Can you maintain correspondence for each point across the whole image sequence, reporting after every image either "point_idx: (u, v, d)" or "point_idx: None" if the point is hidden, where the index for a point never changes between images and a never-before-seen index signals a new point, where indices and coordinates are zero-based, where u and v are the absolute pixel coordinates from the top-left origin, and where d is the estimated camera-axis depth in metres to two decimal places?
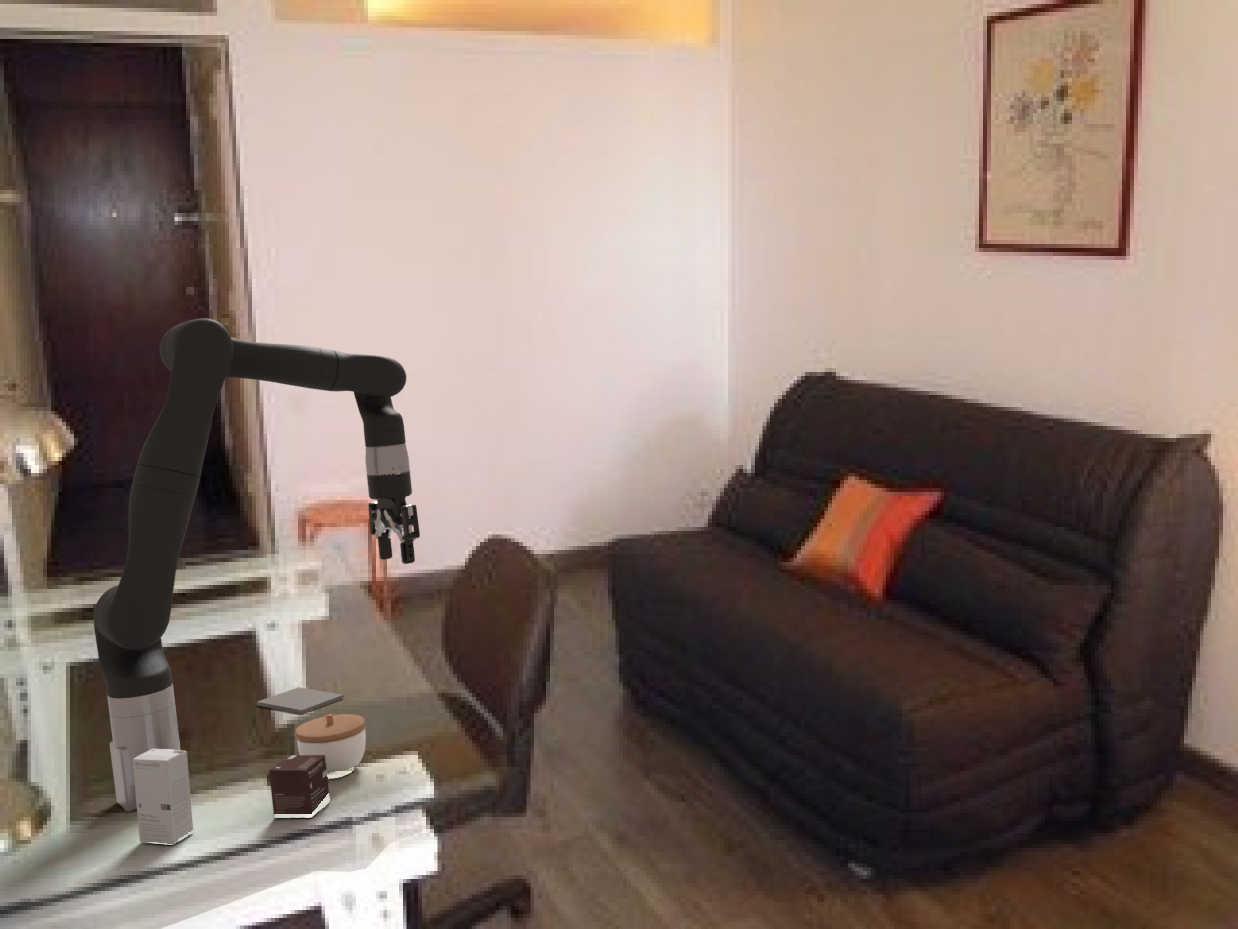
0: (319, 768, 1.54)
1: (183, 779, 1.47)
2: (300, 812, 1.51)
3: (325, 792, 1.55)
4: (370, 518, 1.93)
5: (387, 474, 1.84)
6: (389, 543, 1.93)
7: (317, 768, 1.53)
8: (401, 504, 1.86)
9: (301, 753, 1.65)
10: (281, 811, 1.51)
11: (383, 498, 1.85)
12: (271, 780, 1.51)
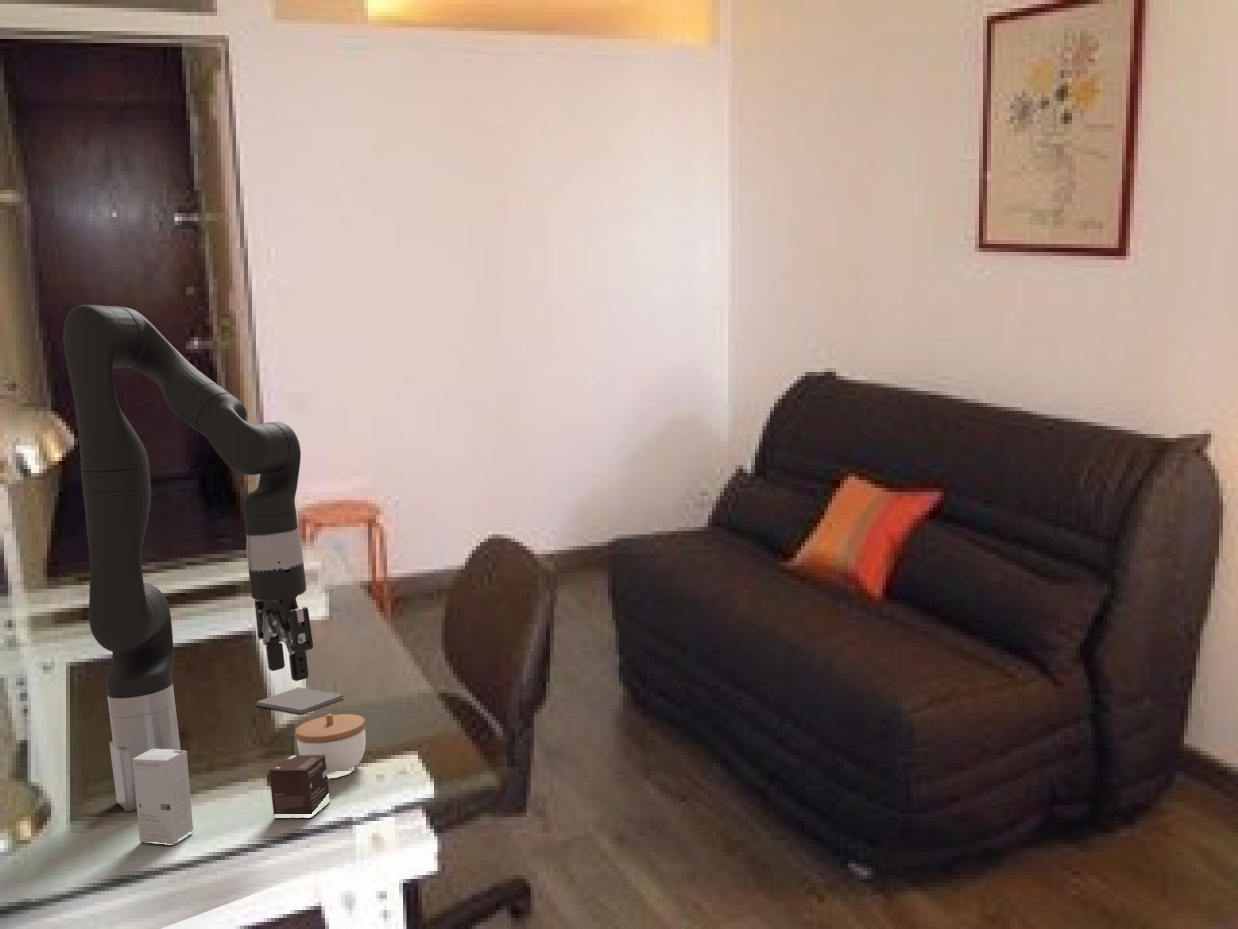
0: (319, 768, 1.54)
1: (183, 779, 1.47)
2: (300, 812, 1.51)
3: (325, 792, 1.55)
4: (257, 619, 1.56)
5: (271, 569, 1.47)
6: (280, 650, 1.56)
7: (317, 768, 1.53)
8: (290, 606, 1.49)
9: (301, 753, 1.65)
10: (281, 811, 1.51)
11: (267, 599, 1.48)
12: (271, 780, 1.51)
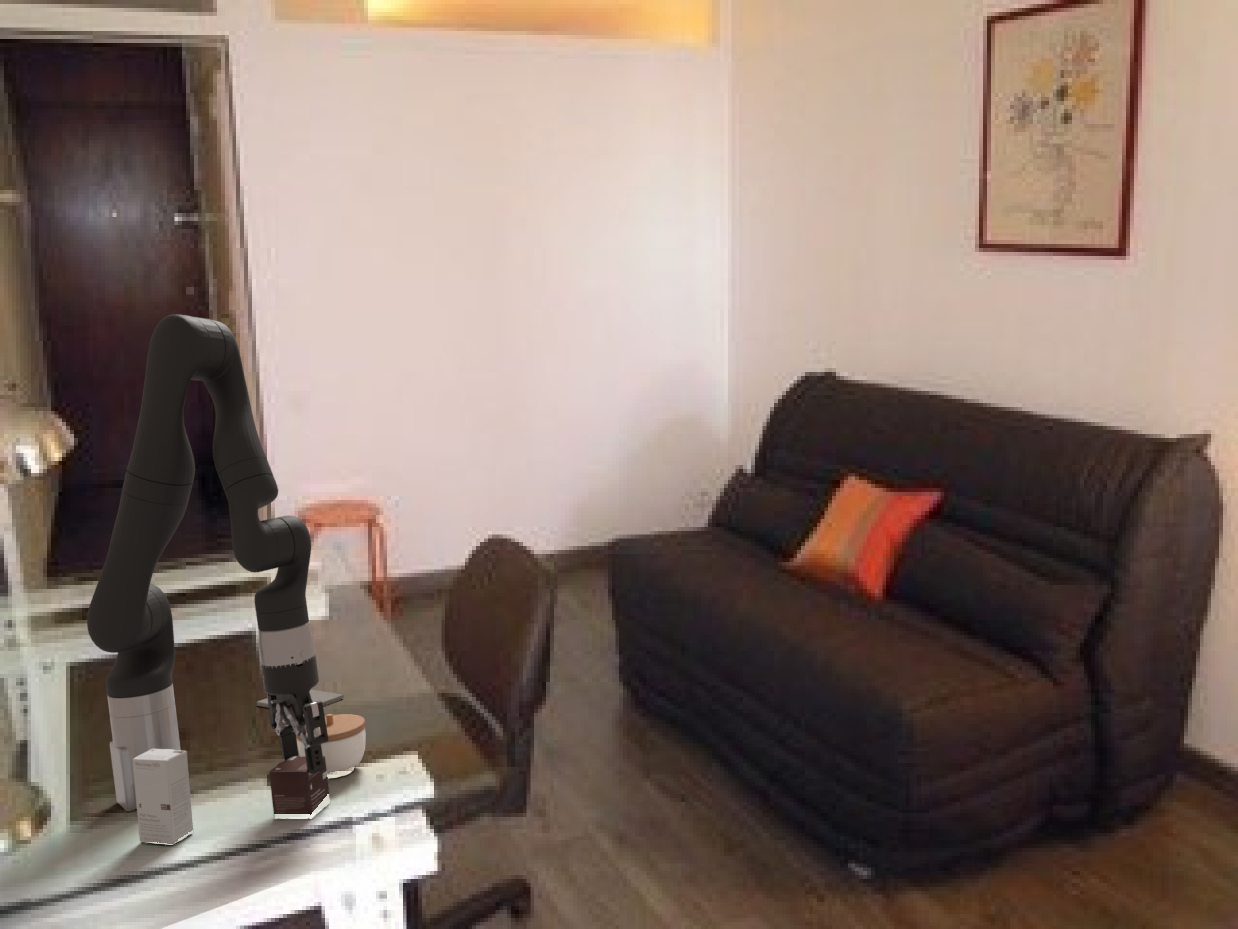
0: None
1: (183, 779, 1.47)
2: (300, 813, 1.51)
3: (326, 793, 1.55)
4: (270, 709, 1.57)
5: (285, 665, 1.49)
6: (294, 739, 1.57)
7: None
8: (304, 700, 1.50)
9: (301, 753, 1.65)
10: (281, 812, 1.51)
11: (281, 694, 1.49)
12: (271, 781, 1.51)
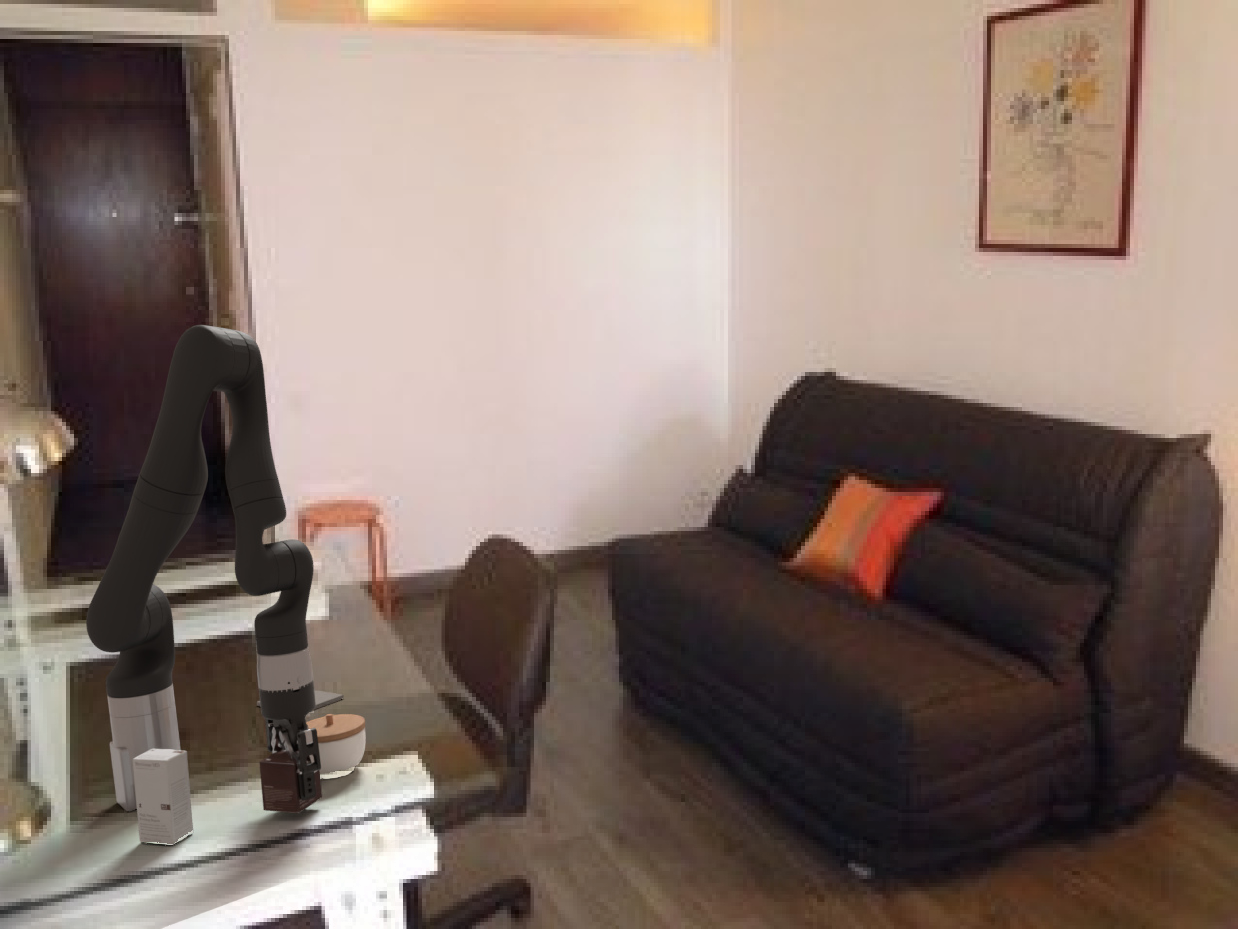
0: None
1: (183, 779, 1.47)
2: (287, 806, 1.50)
3: (316, 787, 1.54)
4: (267, 732, 1.57)
5: (281, 690, 1.48)
6: None
7: (308, 763, 1.52)
8: (299, 726, 1.50)
9: None
10: (269, 803, 1.50)
11: (277, 719, 1.49)
12: (261, 771, 1.50)
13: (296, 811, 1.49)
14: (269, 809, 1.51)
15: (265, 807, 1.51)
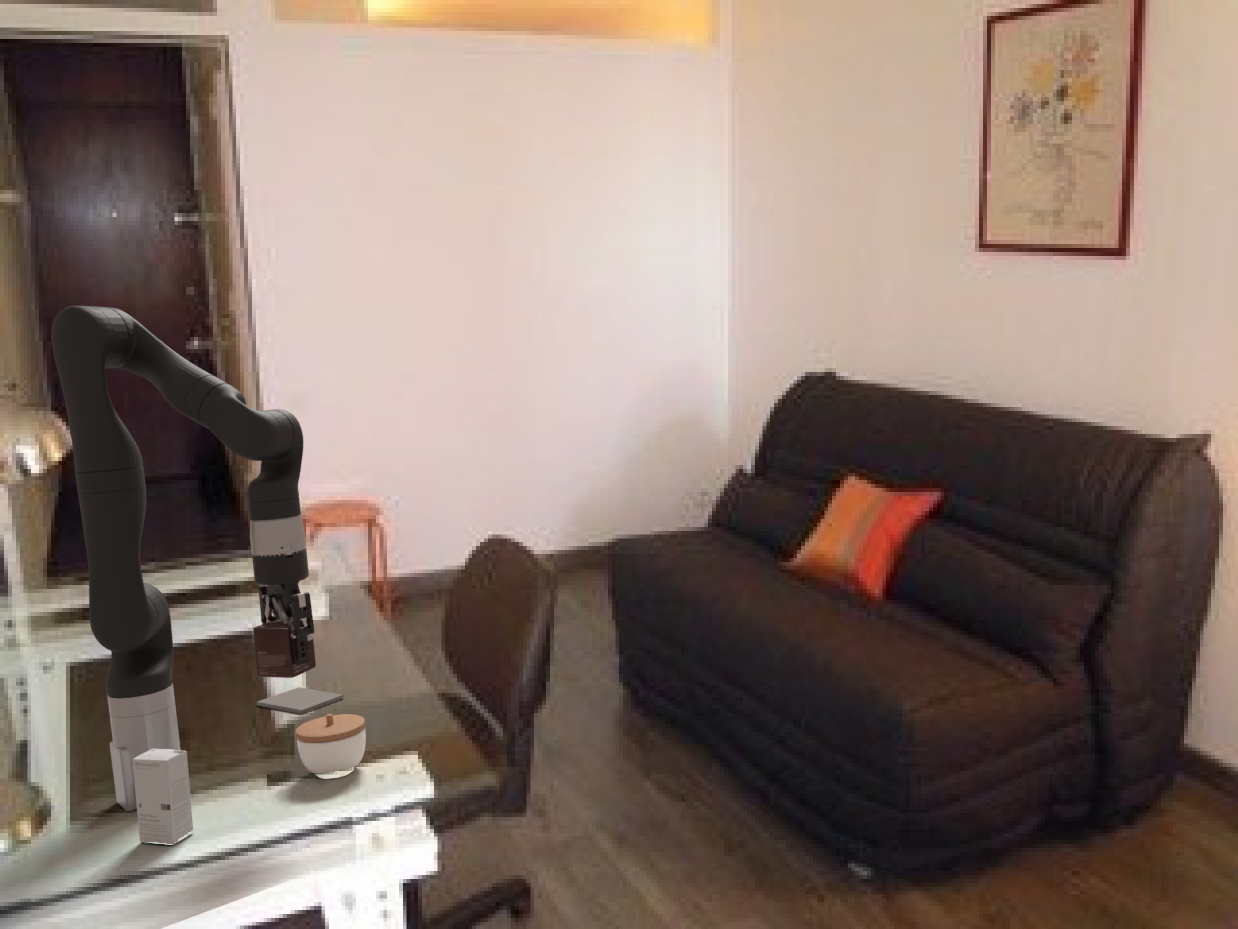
0: None
1: (183, 779, 1.47)
2: (281, 671, 1.50)
3: (310, 655, 1.54)
4: (260, 604, 1.58)
5: (274, 554, 1.49)
6: None
7: None
8: (293, 591, 1.50)
9: (301, 753, 1.65)
10: (263, 670, 1.51)
11: (270, 584, 1.50)
12: (254, 638, 1.51)
13: (290, 676, 1.50)
14: (263, 675, 1.52)
15: (259, 673, 1.52)
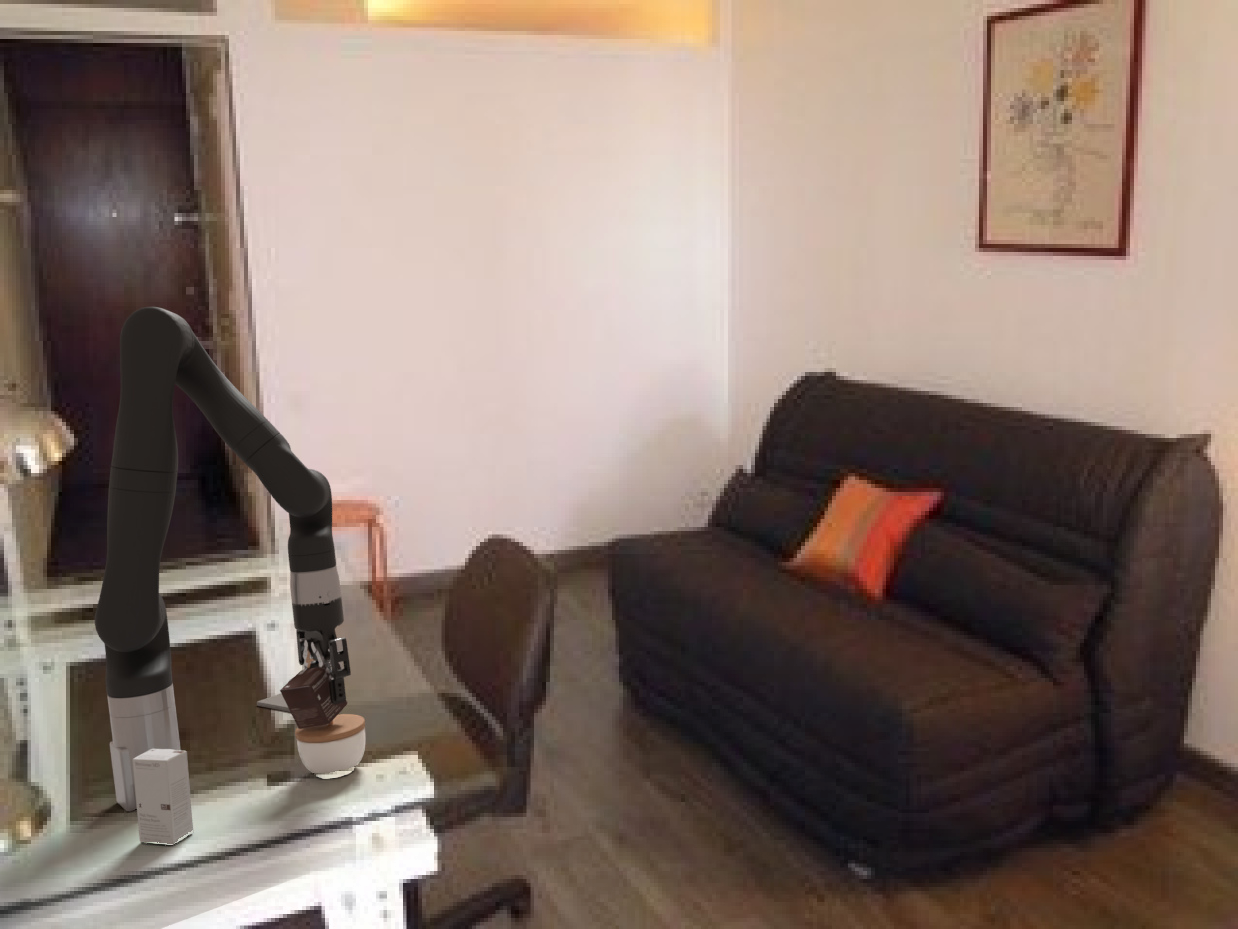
0: (325, 679, 1.65)
1: (183, 779, 1.47)
2: (317, 721, 1.64)
3: None
4: (298, 646, 1.71)
5: (313, 603, 1.63)
6: None
7: (323, 680, 1.65)
8: (330, 636, 1.64)
9: (301, 753, 1.65)
10: (301, 722, 1.65)
11: (309, 630, 1.63)
12: (284, 698, 1.64)
13: (325, 723, 1.64)
14: (303, 727, 1.65)
15: (299, 726, 1.65)
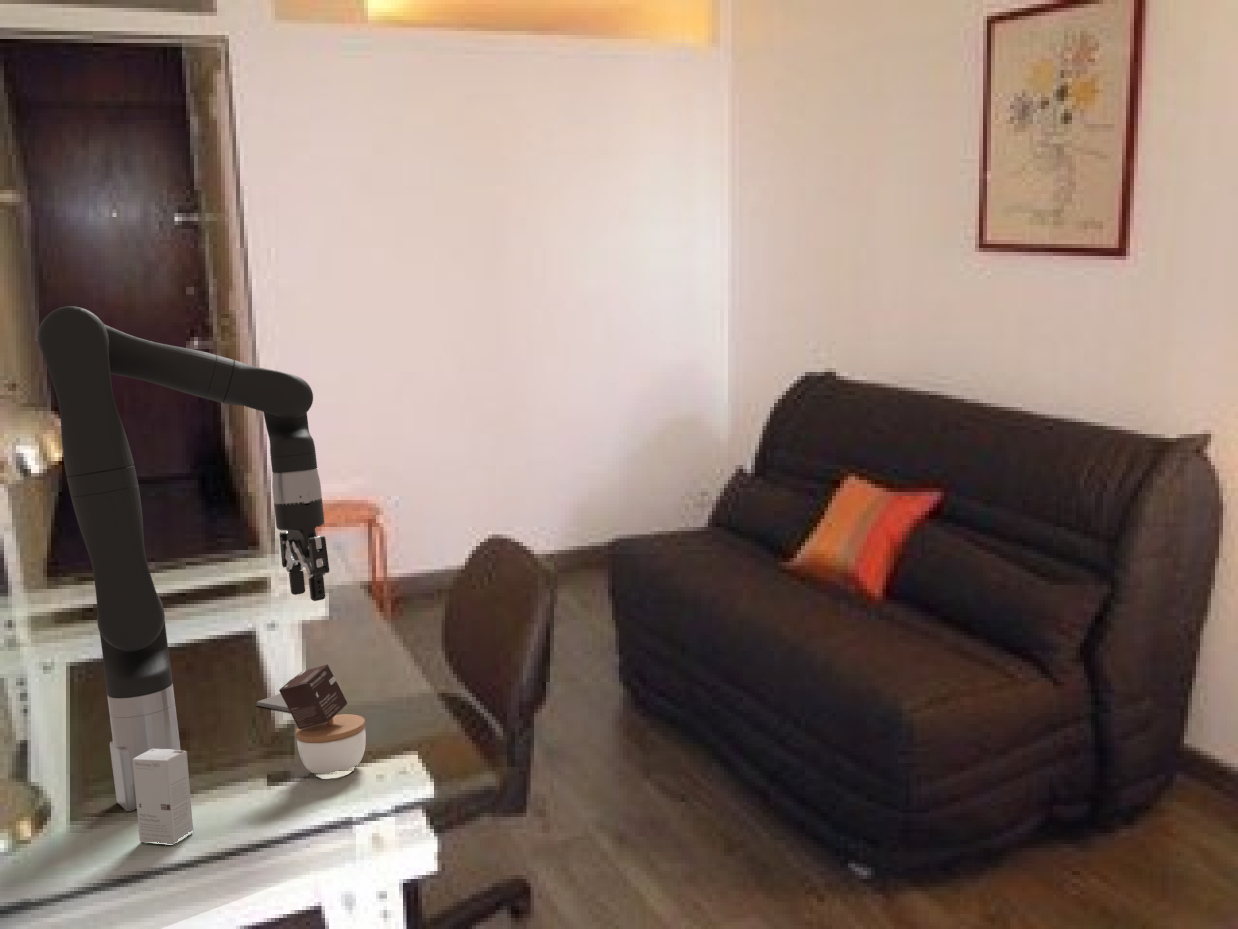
0: (324, 677, 1.66)
1: (183, 779, 1.47)
2: (316, 719, 1.64)
3: (338, 696, 1.67)
4: (281, 549, 1.77)
5: (293, 502, 1.68)
6: (301, 577, 1.77)
7: (321, 678, 1.65)
8: (310, 535, 1.70)
9: (301, 753, 1.65)
10: (301, 722, 1.65)
11: (290, 529, 1.69)
12: (283, 698, 1.65)
13: (324, 721, 1.63)
14: (303, 727, 1.65)
15: (299, 726, 1.66)
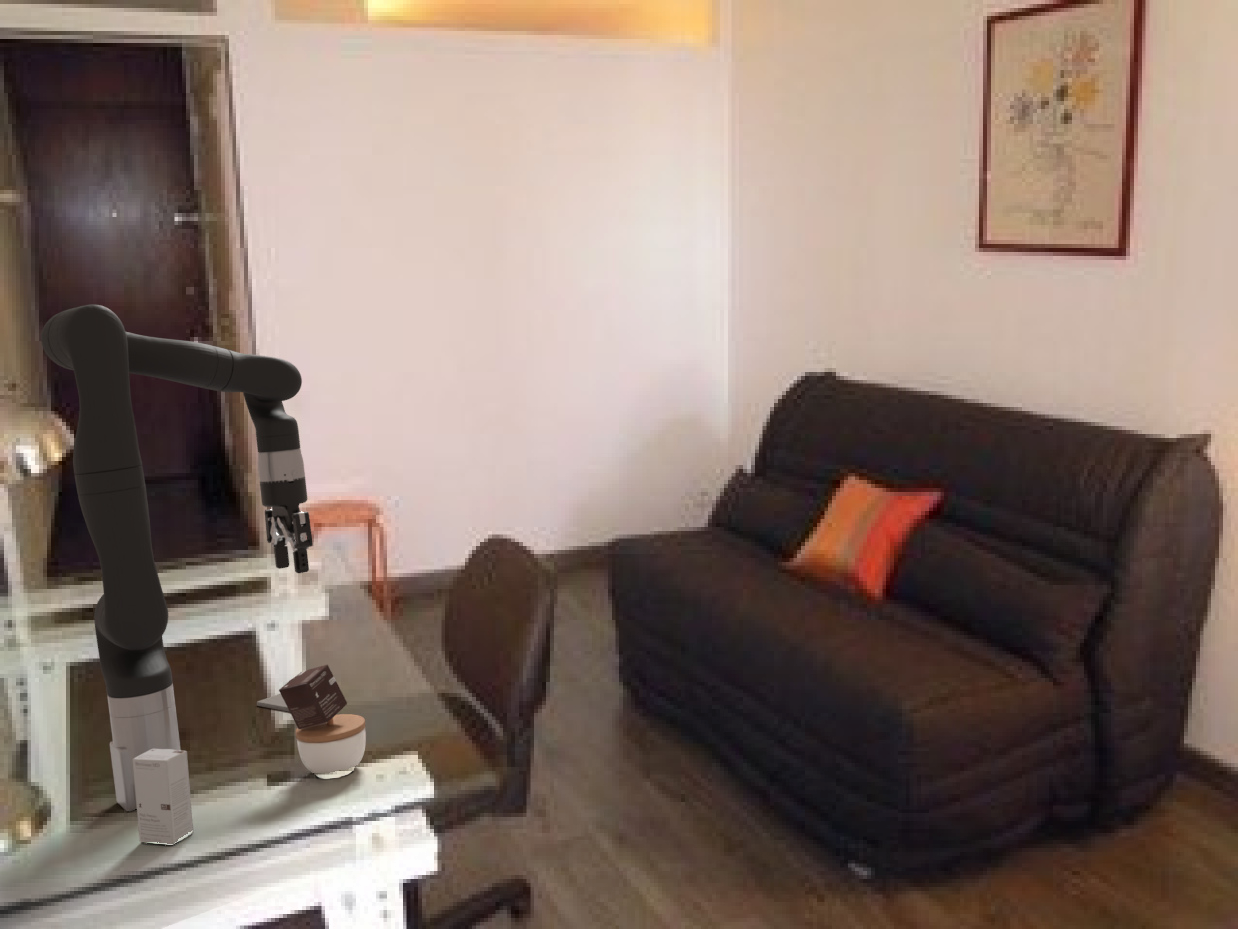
0: (324, 677, 1.66)
1: (183, 779, 1.47)
2: (315, 719, 1.64)
3: (338, 696, 1.67)
4: (266, 526, 1.87)
5: (278, 480, 1.78)
6: (286, 551, 1.87)
7: (321, 678, 1.65)
8: (294, 511, 1.80)
9: (301, 753, 1.65)
10: (301, 722, 1.65)
11: (275, 505, 1.79)
12: (283, 698, 1.65)
13: (324, 722, 1.63)
14: (303, 727, 1.65)
15: (299, 726, 1.66)
